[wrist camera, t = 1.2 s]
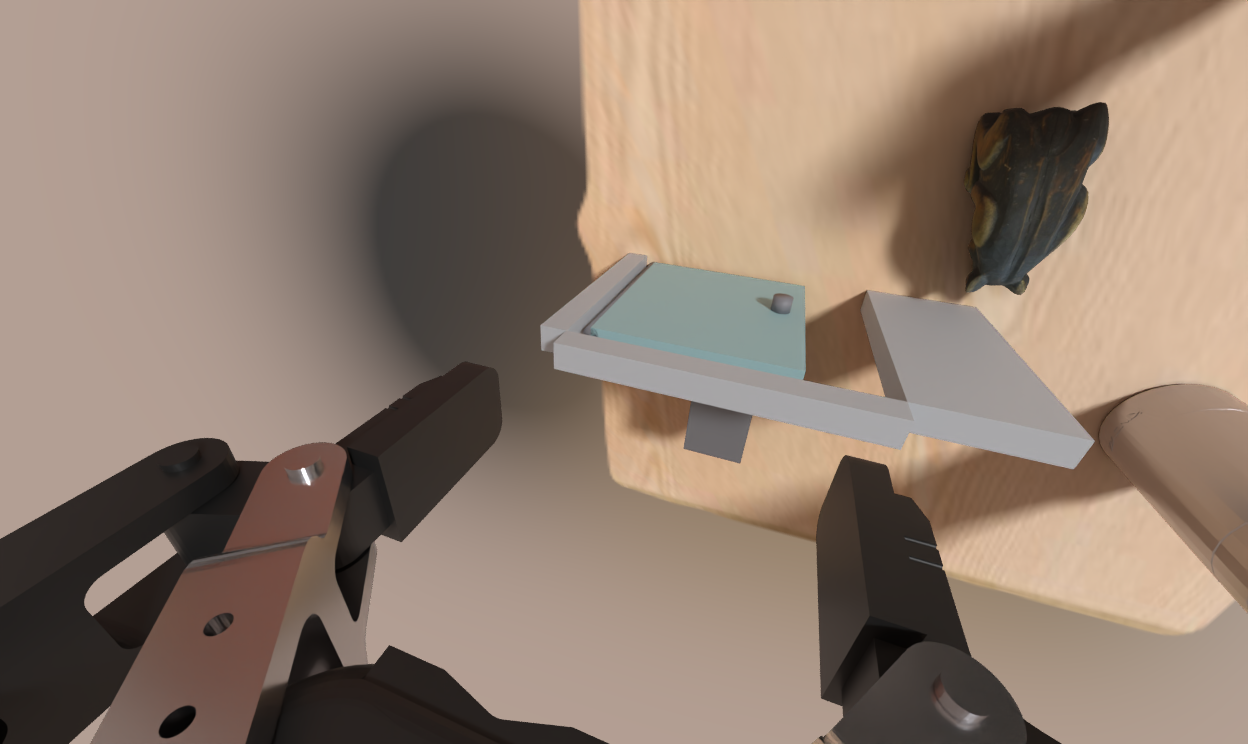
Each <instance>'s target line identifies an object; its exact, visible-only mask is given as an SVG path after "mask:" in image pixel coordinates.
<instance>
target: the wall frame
mask: <svg viewBox="0 0 1248 744" xmlns="http://www.w3.org/2000/svg"><path fill="white" fill-rule="evenodd" d="M646 265H647V256H646V255H639V254H633V253H629V254H627V255H626V256H625V257H624V258H622V259H621V260H620V261H619V262H617V263H616V264H615V265H614V266H613V267H611V268H610V269H609V270H608V271H606V272H605V273H604V274H603V275H601V276H600V277H599V278H598V279H597V280H595V281H594V282H593V283H592V284H590V285H589V286H588V287H587V288H586V289H584V290H583V291H582V292H581V293H579V294H578V295H577V296H576V297H574V298H573V299H572V300H571V301H570V302H568V303H567V304H566V305H565V306H563V307H562V308H561V309H560V310H559V311H557V312H556V313H555V314H554V315H553V316H551V317H550V318H549V319H548V320H546V321H545V322H544V323H543V324H541V326H540V327H541V350H542V351H547V352H551V353H554V369H557V370H561V371H566V372H570V373H574V374H578V375H583V376H587V377H591V378H595V379H600V380H604V381H608V382H612V383H617V384H621V385H625V386H630V387H634V388H638V389H642V390H647V391H651V392H655V393H660V394H664V395H668V396H672V397H677V398H681V399H685V400H690V401H694V402H698V403H702V404H707V405H711V406H715V407H720V408H724V409H728V410H732V411H737V412H741V413H745V414H750V415H754V416H758V417H762V418H767V419H771V420H775V421H780V422H784V423H788V424H792V425H797V426H801V427H805V428H810V429H814V430H818V431H822V432H827V433H831V434H835V435H840V436H844V437H848V438H852V439H857V440H861V441H865V442H870V443H874V444H878V445H882V446H887V447H891V448H895V449H899V450H901V448H902V446H903V444H904V442H905V440H906V438H907V436H908V434H909V433H913V434H917V435H922V436H926V437H931V438H935V439H940V440H944V441H949V442H953V443H958V444H962V445H967V446H971V447H975V448H980V449H984V450H989V451H993V452H998V453H1002V454H1007V455H1011V456H1016V457H1020V458H1025V459H1029V460H1034V461H1038V462H1042V463H1047V464H1051V465H1056V466H1060V467H1065V468H1069V469H1075V467H1076V466H1077V465H1078V463H1079V462H1080V461H1081V459H1082V458H1083V457H1084V455H1085V454H1086V453H1087V451H1088V450H1089V449H1090V447H1091V446H1092V445H1093V443H1094V442H1095V440H1094V439H1093V438H1092V437H1091V436H1090V435H1089V434H1088V433H1087V431H1086V430H1085V429H1084V428H1083V427H1082V426H1081V425H1080V424H1079V422H1078V421H1077V420H1076V419H1075V418H1074V417H1073V416H1072V415H1071V413H1070V412H1069V411H1068V410H1067V409H1066V408H1065V407H1064V405H1063V404H1062V403H1061V402H1060V401H1059V400H1058V399H1057V398H1056V396H1055V395H1054V394H1053V393H1052V392H1051V391H1050V390H1049V389H1048V387H1047V386H1046V385H1045V384H1044V383H1043V382H1042V381H1041V380H1040V378H1039V377H1038V376H1037V375H1036V374H1035V373H1034V372H1033V371H1032V369H1031V368H1030V367H1029V366H1028V365H1027V364H1026V363H1025V362H1024V360H1023V359H1022V358H1021V357H1020V356H1019V355H1018V354H1017V353H1016V351H1015V350H1014V349H1013V348H1012V347H1011V346H1010V345H1009V343H1008V342H1007V341H1006V340H1005V339H1004V338H1003V337H1002V336H1001V334H1000V333H999V332H998V331H997V330H996V329H995V328H994V327H993V325H992V324H991V323H990V322H989V321H988V320H987V319H986V318H985V316H984V315H983V314H982V313H981V312H980V311H979V310H978V309H977V307H971V306H965V305H958V304H952V303H945V302H939V301H933V300H926V299H920V298H914V297H907V296H901V295H894V294H888V293H882V292H875V291H869V290H867V292H866V295H865V298H864V301H863V304H862V307H861V309H860V311H861V314H862V318H863V321H864V325H865V328H866V332H867V335H868V338H869V342H870V345H871V349H872V352H873V356H874V359H875V363H876V366H877V369H878V373H879V376H880V380H881V383H882V387H883V390H884V394H885V397H882V396H877V395H872V394H867V393H862V392H858V391H853V390H848V389H843V388H838V387H834V386H829V385H824V384H819V383H815V382H810V381H805V380H800V379H795V378H791V377H786V376H781V375H776V374H772V373H767V372H762V371H757V370H752V369H748V368H743V367H738V366H733V365H728V364H724V363H719V362H714V361H709V360H705V359H700V358H695V357H690V356H685V355H681V354H676V353H671V352H666V351H661V350H657V349H652V348H647V347H642V346H638V345H633V344H628V343H623V342H618V341H614V340H609V339H604V338H599V337H594V336H590V335H585V334H583V331H584V329H585V328H586V327H587V326H588V325H589V324H590V323H591V322H592V321H593V320H594V319H595V318H596V317H597V316H598V315H599V314H600V313H601V312H602V311H603V310H604V309H605V308H606V307H607V306H608V305H609V304H610V303H611V302H612V301H613V300H614V299H615V298H616V297H617V296H618V295H619V294H620V293H621V292H622V291H623V290H624V289H625V288H626V287H627V286H628V285H629V284H630V283H631V282H632V281H633V280H634V279H635V278H636V277H637V276H638V275H639V274H640V273H641V272H642V271H643V270H644V269H645V268H646Z"/></svg>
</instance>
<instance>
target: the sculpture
mask: <svg viewBox="0 0 1248 744" xmlns="http://www.w3.org/2000/svg"><path fill="white" fill-rule="evenodd" d="M1108 127H1109V115H1108V108H1107V105H1106V103H1102V102H1099V103H1094V104H1092V105H1089V106H1087V107H1085V108H1083V109H1080V110H1078V111H1070V110H1068V109H1065V108H1062V107H1053V108H1048V109H1045V110H1042V111H1038V112H1035V113H1031V114H1029V113H1027V112H1026V111H1025V110H1024V109H1022V108H1015V109H1006V110H1004V111H1003V112H1002V113H986V114H984V115H983V116H982V117H981V119H980V121H979V123H978V126H977V128H976V132H975V137H974V142H973V149H972V158H971V166H970V167H969V168H968V169H967V171H966V175H965V179H964V186H965V187H966V190H967V191H968V192H969V193H971V198H972V200H973V202H974V204H975V206H976V209H975V211H974V215H973V220H972V237H973V239H972V240H971V241H970V243H969V247H968V249H969V253H970V256H971V258H972V260H973V264H972V272H971V273H970V274H969V275H968V277H967V279H966V292H974V291H977V290H978V289H980V288H981V287H983V286H984V285H1003V286H1005V287H1006V288H1008V289H1009V290H1010V291H1012V292H1013V293H1015V294H1017V295H1021V294H1023V293H1024V292H1025V290H1026V288H1027V285H1028V283H1029V277H1028V275H1027V273H1028V272H1029V271H1030V270H1031V269H1032V268H1034V267H1035V266H1036V265H1037V264H1038V263H1040V262H1041V261H1042V260H1043V259H1044V258H1045V257H1047V256H1048V255H1049V254H1050V253H1051V252H1053V251H1054V250H1055V249H1056V248H1058V247H1059V246H1060V245H1061V244H1062V243H1063V242H1064V241H1065V240H1067V239H1068V238H1069V237H1070V236H1071V234H1072V233H1073V232H1074V231H1075V230H1076V228H1077V227H1078V225H1079V224H1080V222H1081V220H1082V219H1083V217H1084V214H1085V211H1086V208H1087V204H1088V191H1087V189H1086V187H1085V186H1084V185H1082V183H1083V180H1084V177H1085V175H1086V172H1087V170H1088V167H1089V166H1090V165H1092V164H1093V163H1094V162H1095V161H1096V160H1097V159H1098V158H1099V156H1100V155H1101V153H1102V152H1103V149H1104V147H1105V144H1106V140H1107V134H1108Z"/></svg>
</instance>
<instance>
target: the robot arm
mask: <svg viewBox="0 0 1248 744" xmlns="http://www.w3.org/2000/svg"><path fill="white" fill-rule="evenodd" d="M501 426H502V413H501V401H500V391H499V380H498V374H497V372H496V370H495V369H494V368H490V367H486V366H482V365H478V364H474V363H470V362H462V363H460V364H459V365H457V366H456V367H455V368H453V369H452V370H451V371H449V372H448V373H446V374H445V375H444V376H439V377H437V378H434V379H432V380H429V381H426V382H424V383H421V384H419V385H418V386H416V387H415V388H414V389H412V390H411V391H409V392H408V393H406V394H405V395H404V396H403V398H402V399H400V398H399V399H398V400H397V401H395V402H394V403H393V404H391V405H389V408H388V409H386V408H385V409H384V410H382V411H381V412H380V413H378V414H377V415H375V416H374V417H372V418H371V419H370V420H368V421H367V422H365V423H364V424H363V425H361V426H360V427H358V428H357V429H356V430H354V431H353V432H351V433H350V434H348V435H347V436H346V437H344V438H343V439H341V440H340V441H339V442H337V443H336V444H332V443H326V442H324V443H323V442H319V443H311V444H305V445H302V446H298V447H295V448H292V449H290V450H288V451H285V452H284V453H282V454H280V455H278V456H277V457H275V458H274V459H272V460H271V461H270V462H257V461H236V460H235V458H234V456H233V454H232V452H231V450H230V448H229V446H228V445H227V443H226V442H224V441H222V440H220V439H214V438H200V439H193V440H188V441H184V442H180V443H177V444H174V445H171V446H168V447H166V448H164V449H161V450H159V451H157V452H155V453H153V454H152V455H150V456H148V457H146V458H144V459H143V460H141V461H139V462H137V463H135V464H134V465H132V466H130V467H128V468H126V469H125V470H123V471H121V472H119V473H118V474H116V475H114V476H112V477H110V478H109V479H107V480H105V481H103V482H101V483H100V484H98V485H96V486H94V487H93V488H91V489H89V490H87V491H86V492H84V493H82V494H80V495H78V496H76V497H75V498H73V499H71V500H69V501H68V502H66V503H64V504H62V505H60V506H58V507H57V508H55V509H53V510H51V511H50V512H48V513H46V514H44V515H43V516H41V517H39V518H37V519H35V520H34V521H32V522H30V523H28V524H26V525H25V526H23V527H21V528H19V529H17V530H16V531H14V532H12V533H10V534H8V535H7V536H5V537H3V538H1V539H0V744H69V743H70V742H71V741H72V740H73V739H74V738H75V737H76V736H78V734H80V733H81V732H82V731H83V730H84V729H85V728H86V727H87V726H88V725H90V724H91V722H93V721H94V720H95V719H96V718H97V717H99V716H100V715H101V714H102V713H103V712H104V711H105V710H106V709H107V708H108V707H109V706H110V708H109V710H108V712H107V713H106V715H105V717H104V719H103V721H102V723H101V725H100V726H99V728H98V730H97V732H96V734H95V736H94V738H93V739H92V741H91V743H90V744H608V743H606V742H604V741H602V740H600V739H597V738H595V737H593V736H591V735H588V734H586V733H584V732H582V731H580V730H577V729H575V728H572V727H564V726H555V725H545V724H537V723H528V722H519V721H510V720H502V719H498V718H496V717H494V716H492V715H491V714H490V713H489V712H488V711H487V710H486V709H484V708H483V707H482V706H481V705H480V704H479V703H478V702H477V701H476V700H475V699H474V698H473V697H472V696H471V695H470V694H469V693H468V692H467V691H466V690H465V689H464V688H463V687H462V686H460V684H459V683H458V682H457V681H456V680H455V679H453V678H452V677H451V676H450V675H449V674H448V673H447V672H446V671H445V670H444V669H441V668H439V667H437V666H435V665H432V664H430V663H428V662H426V661H423V660H421V659H419V658H417V657H415V656H412V655H410V654H408V653H405V652H403V651H401V650H399V649H397V648H395V647H392V646H390V645H389V646H388V648H387V649H386V650H385V651H384V653H383V654H382V655H381V657H380V658H379V659H378V660H377V662H376V663H375V664H368V661H367V652H366V642H365V636H366V626H367V619H368V612H369V605H370V598H371V591H372V585H373V584H372V583H373V578H374V570H375V564H376V557H377V548H376V544H375V540H376V539H377V538H378V537H379V536H380V535H384V536H387V537H389V538H392V539H395V540H397V541H400V542H402V541H403V540H404V539H405V538H406V537H407V536H408V535H409V534H410V532H411V531H412V530H413V529H414V528H415V527H416V526H417V525H418V524H419V523H420V522H421V521H422V520H423V519H424V517H426V515H427V514H428V513H429V512H430V511H431V510H432V509H433V508H434V507H435V506H436V505H437V503H438V502H440V500H441V499H442V498H443V497H444V496H445V495H446V494H447V493H448V492H449V491H450V490H451V489H452V488H453V487H454V485H455V484H456V483H457V482H458V481H459V480H460V479H461V478H462V477H463V476H464V475H465V474H466V473H467V472H468V471H469V469H470V468H471V467H472V466H473V465H474V464H475V463H476V462H477V461H478V460H479V459H480V458H481V457H482V455H483V454H484V453H485V452H486V451H487V450H488V449H489V448H490V447H491V446H492V445H493V444H494V442H495V441H496V439H497V437H498V435H499V433H500V430H501ZM1099 440H1100V444H1101V446H1102V448H1103V450H1104V452H1105V453H1106V454H1107V455H1108V456H1109V457H1110V459H1111V460H1112V461H1113V462H1114V463H1115V464H1116V465H1117V466H1118V468H1119V469H1120V470H1121V471H1122V472H1123V473H1124V474H1125V476H1126V477H1127V478H1128V479H1129V480H1130V482H1131V483H1132V484H1133V485H1134V486H1135V487H1136V488H1137V490H1138V491H1139V492H1140V493H1141V494H1142V495H1143V496H1144V497H1145V499H1146V500H1147V501H1148V502H1149V503H1150V504H1151V505H1152V507H1153V508H1154V509H1155V510H1156V511H1157V512H1158V513H1159V514H1160V516H1161V517H1162V518H1163V519H1164V520H1165V521H1166V522H1167V523H1168V525H1169V526H1170V527H1171V528H1172V529H1173V530H1174V531H1175V532H1176V534H1177V535H1178V536H1179V537H1180V538H1181V539H1182V540H1183V542H1184V543H1185V544H1186V545H1187V546H1188V547H1189V548H1190V549H1191V551H1192V552H1193V553H1194V554H1195V555H1196V556H1197V557H1198V558H1199V560H1200V561H1201V562H1202V563H1203V564H1204V565H1205V566H1206V568H1207V569H1208V570H1209V571H1210V572H1211V573H1212V574H1213V575H1214V577H1215V578H1216V579H1217V580H1218V581H1219V582H1220V583H1221V584H1222V585H1223V586H1224V587H1225V589H1226V590H1227V591H1228V592H1229V593H1230V594H1231V595H1232V597H1233V598H1234V599H1235V600H1236V601H1237V602H1238V603H1239V604H1240V606H1242V608H1243V609H1244V610H1245V611H1246V612H1247V613H1248V405H1247V404H1245V403H1244V402H1242V401H1240V400H1239V399H1237V398H1236V397H1234V396H1233V395H1231V394H1230V393H1228V392H1226V391H1223V390H1221V389H1218V388H1215V387H1210V386H1205V385H1197V384H1179V385H1169V386H1164V387H1159V388H1155V389H1151V390H1148V391H1145V392H1142V393H1140V394H1137V395H1135V396H1133V397H1131V398H1129V399H1127V400H1125V401H1124V402H1122V403H1121V404H1120V405H1118V406H1117V407H1116V408H1114V409H1113V410H1112V411H1111V412H1110V413H1109V415H1108V416H1107V417H1106V418H1105V420H1104V422H1103V423H1102V425H1101V428H1100V432H1099ZM163 532H164V533H165V535H166V536H167V538H168V539H169V541H170V542H171V544H172V545H173V547H174V548H175V550H176V551H177V554H175V555H174V556H173V557H171V558H170V559H169V560H167V561H166V562H165V563H163V564H162V565H161V566H159V567H158V568H157V569H155V570H154V571H153V572H151V573H150V574H149V575H147V576H146V577H145V578H143V579H142V580H140V581H139V582H138V583H136V584H135V585H134V586H133V587H131V588H130V589H129V590H127V591H126V592H125V593H123V594H122V595H120V596H119V597H118V598H116V599H115V600H114V601H112V602H111V603H110V604H108V605H107V606H106V607H104V608H103V609H102V610H100V611H99V612H98V613H96V614H95V615H94V616H92V615H91V614H90V613H89V612H88V611H87V610H86V608H85V606H84V599H85V595H86V593H87V591H88V590H89V588H90V587H91V585H92V584H93V583H94V582H95V581H96V580H97V579H98V578H99V577H100V576H102V575H103V574H104V573H106V572H107V571H109V570H110V569H112V568H113V567H115V566H116V565H117V564H119V563H120V562H122V561H123V560H125V559H126V558H127V557H129V556H130V555H132V554H133V553H135V552H136V551H137V550H139V549H140V548H142V547H143V546H145V545H146V544H147V543H149V542H150V541H152V540H153V539H155V538H156V537H157V536H159V535H160V534H162V533H163ZM816 544H817V576H818V609H819V641H820V674H821V675H820V677H821V698H822V699H824V700H827V701H830V702H832V703H835V704H838V705H840V706H843V718H842V719H841V720H840V721H839V722H838V723H837V724H836V725H835V726H834V728H833V729H832V730H831V731H830V732H829V733H828V734H827V735H825V736H824V737H822V736H820V737H819V738H818V739H816V740H815V741H814V742H813V743H812V744H1061V743H1060V742H1058V741H1056V740H1055V739H1053V738H1051V737H1050V736H1048V735H1047V734H1045V733H1043V732H1042V731H1040V730H1039V729H1037V728H1035V727H1034V726H1033V725H1031V724H1030V723H1028V722H1027V721H1026V720H1024V719H1023V717H1022V714H1021V712H1020V710H1019V708H1018V706H1017V704H1016V702H1015V701H1014V699H1013V698H1012V696H1011V695H1010V693H1009V692H1008V691H1007V689H1006V688H1005V687H1004V686H1003V684H1002V683H1001V682H1000V681H999V680H998V679H997V678H996V677H995V676H994V675H993V674H992V673H991V672H990V671H989V670H988V669H987V668H986V667H984V666H983V665H982V664H981V663H979V662H978V661H977V660H975V659H974V658H972V657H971V654H970V652H969V648H968V645H967V642H966V639H965V635H964V632H963V629H962V626H961V622H960V619H959V616H958V613H957V609H956V606H955V603H954V600H953V597H952V593H951V590H950V587H949V583H948V580H947V577H946V574H945V571H944V570H942V566H943V564H942V561H941V557H940V554H939V551H938V550H937V549H936V546H937V544H936V541H935V538H934V535H933V531H932V528H931V525H930V522H929V520H928V519H927V518H926V516H925V515H924V514H923V512H922V511H921V510H920V509H919V507H918V506H917V505H916V503H915V502H914V501H913V500H912V498H909V497H906V496H902V495H898V494H894V491H893V487H892V482H891V478H890V474H889V470H888V467H887V466H886V465H884V464H880V463H876V462H872V461H868V460H864V459H860V458H856V457H852V456H848V455H845V456H844V457H843V458H842V460H841V462H840V464H839V466H838V469H837V471H836V474H835V476H834V479H833V481H832V484H831V486H830V489H829V491H828V493H827V496H826V498H825V501H824V503H823V506H822V508H821V511H820V515H819V519H818V525H817V534H816Z"/></svg>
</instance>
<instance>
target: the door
mask: <svg viewBox="0 0 1248 744" xmlns="http://www.w3.org/2000/svg"><path fill="white" fill-rule="evenodd" d="M583 334H585V335H590V336H594V337H599V338H604V339H609V340H614V341H618V342H623V343H628V344H633V345H638V346H642V347H647V348H652V349H657V350H661V351H666V352H671V353H676V354H681V355H685V356H690V357H695V358H700V359H705V360H709V361H714V362H719V363H724V364H728V365H733V366H738V367H743V368H748V369H752V370H757V371H762V372H767V373H772V374H776V375H781V376H786V377H791V378H795V379H800V380H803V379H804V375H805V372H806V347H805V286H801V285H794V284H788V283H782V282H776V281H769V280H763V279H757V278H751V277H744V276H738V275H732V274H725V273H719V272H713V271H707V270H700V269H694V268H688V267H682V266H675V265H669V264H663V263H657V262H652V263H650V264H649V265H648V266H647V267H646V268H645V269H644V270H643V271H642V272H641V273H640V274H639V275H638V276H637V277H636V278H635V279H634V280H633V281H632V282H631V283H630V284H629V285H628V286H627V287H626V288H625V289H624V290H623V291H622V292H621V293H620V294H619V295H618V296H617V297H616V298H615V299H614V300H613V301H612V302H611V303H610V304H609V305H608V306H607V307H606V308H605V309H604V310H603V311H602V312H601V313H600V314H599V315H598V316H597V317H596V318H595V319H594V320H593V321H592V322H591V323H590V324H589V325H588V326H587V327H586V328H585V329H584V331H583Z"/></svg>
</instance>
